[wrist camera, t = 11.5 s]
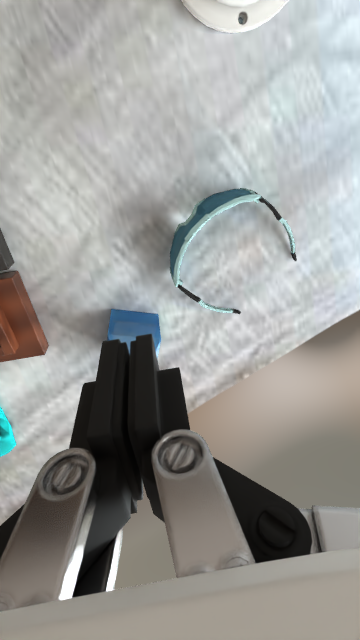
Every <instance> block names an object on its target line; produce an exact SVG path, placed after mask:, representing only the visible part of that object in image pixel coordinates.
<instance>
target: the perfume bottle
mask: <svg viewBox="0 0 360 640" xmlns="http://www.w3.org/2000/svg"><path fill="white" fill-rule="evenodd" d="M146 334H152V336H153V341H154V346H155V351H156V356H157V358H158V353H159V347H160V342H161V335H160V326H159V317H158V314H151V313H142V312H134V311H125V310H116V309H111V316H110V323H109V330H108V337H107V341H109V340H115V339H120V341H121V343H123V342H126V343H127V346H128V350H129V354H130V342H131V341H135V340H136V336H140V335H146Z"/></svg>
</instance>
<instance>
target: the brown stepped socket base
mask: <svg viewBox="0 0 360 640" xmlns="http://www.w3.org/2000/svg"><path fill="white" fill-rule="evenodd" d="M48 346H49V345H48V342H47V340H46V337H45V335H44V333H43V330H42V328H41V325H40V323H39V321H38V318H37V316H36V313H35V311H34V309H33V306H32V304H31V301H30V299H29V297H28V294H27V292H26V289H25V287H24V284H23V282H22V280H21V277H20V275H19V272H18V271H14V272H8V273H2V274H0V362H4V361H10V360H16V359H22V358H28V357H34V356H39V355H45V353H46V351H47V348H48Z"/></svg>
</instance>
